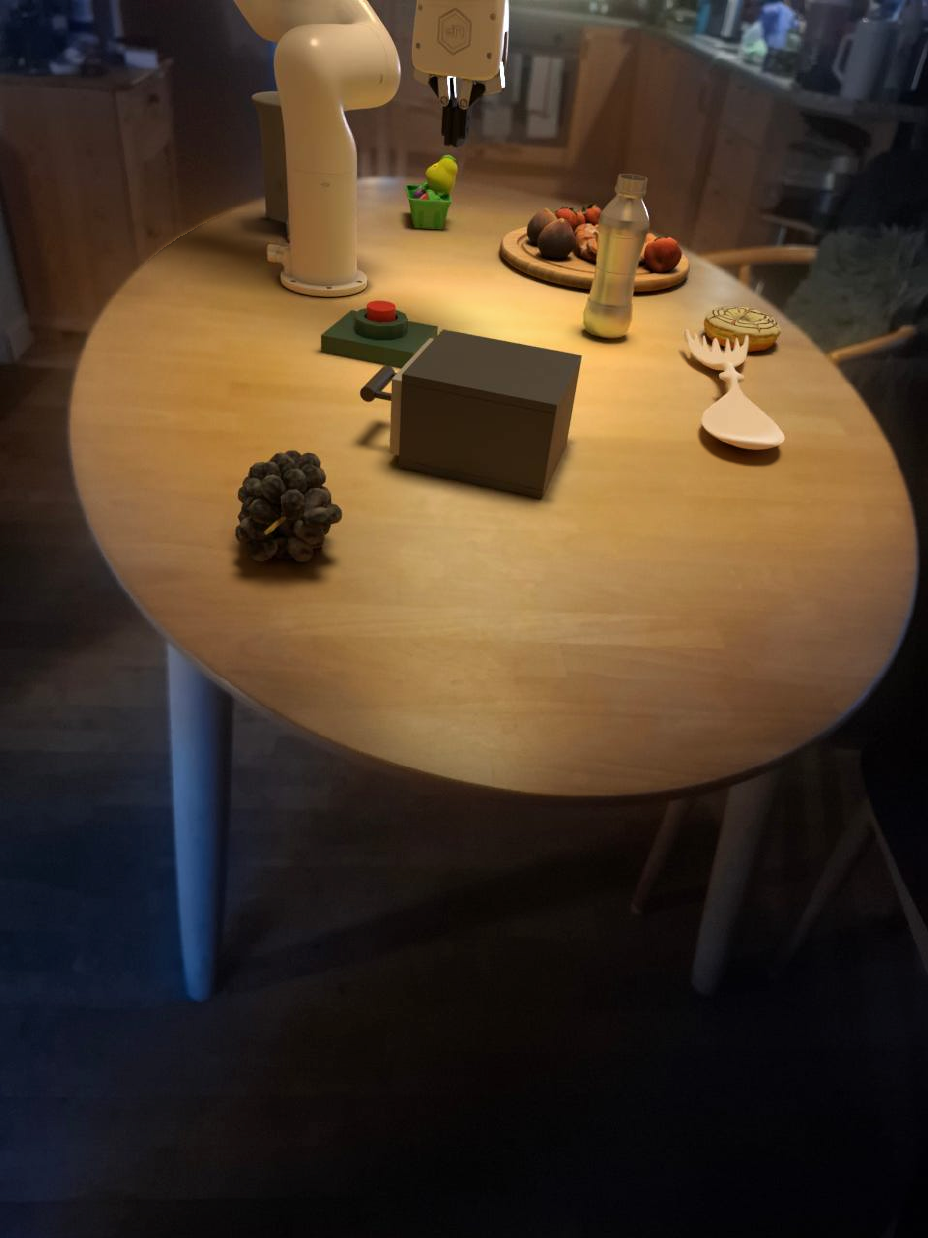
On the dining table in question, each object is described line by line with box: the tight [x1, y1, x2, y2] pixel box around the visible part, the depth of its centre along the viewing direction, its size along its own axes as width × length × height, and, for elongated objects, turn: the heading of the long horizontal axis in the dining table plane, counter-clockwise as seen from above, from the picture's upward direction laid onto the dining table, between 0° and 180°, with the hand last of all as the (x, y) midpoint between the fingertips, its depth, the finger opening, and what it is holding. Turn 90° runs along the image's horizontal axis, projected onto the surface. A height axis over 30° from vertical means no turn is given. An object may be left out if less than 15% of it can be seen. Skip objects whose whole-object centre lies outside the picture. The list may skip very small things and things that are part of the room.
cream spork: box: [683, 327, 786, 451], centre depth 104 cm, size 9×32×4 cm, turn 174°
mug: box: [250, 90, 290, 243], centre depth 141 cm, size 19×15×25 cm
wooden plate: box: [499, 203, 691, 293], centre depth 143 cm, size 32×32×8 cm
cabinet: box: [397, 329, 583, 500], centre depth 86 cm, size 15×13×10 cm
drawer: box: [359, 338, 434, 457], centre depth 87 cm, size 18×12×8 cm, turn 74°
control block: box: [320, 307, 439, 369], centre depth 108 cm, size 12×10×4 cm
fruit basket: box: [405, 154, 459, 230], centre depth 154 cm, size 11×9×11 cm
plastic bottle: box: [582, 173, 651, 339], centre depth 113 cm, size 6×7×20 cm
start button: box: [366, 300, 397, 322], centre depth 107 cm, size 4×4×2 cm
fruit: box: [234, 449, 343, 563], centre depth 73 cm, size 9×8×15 cm
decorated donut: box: [703, 306, 782, 353], centre depth 121 cm, size 10×11×4 cm
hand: (454, 144), depth 102 cm, fingers closed
